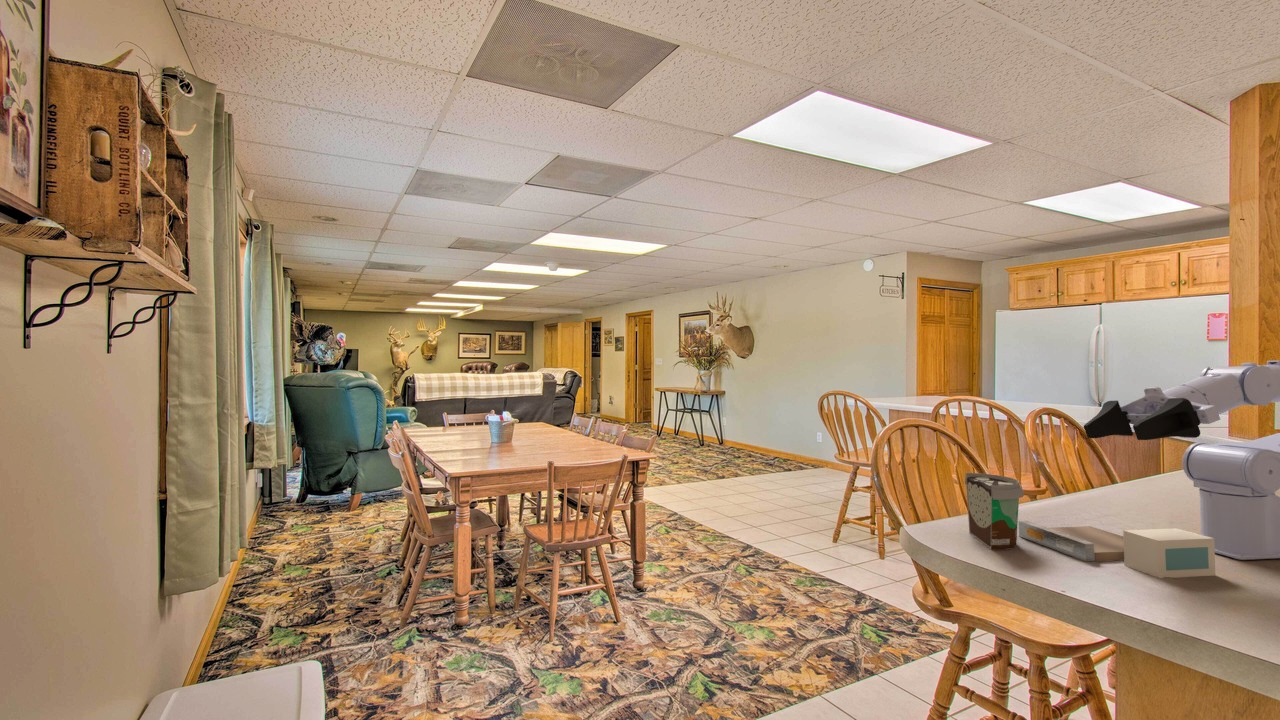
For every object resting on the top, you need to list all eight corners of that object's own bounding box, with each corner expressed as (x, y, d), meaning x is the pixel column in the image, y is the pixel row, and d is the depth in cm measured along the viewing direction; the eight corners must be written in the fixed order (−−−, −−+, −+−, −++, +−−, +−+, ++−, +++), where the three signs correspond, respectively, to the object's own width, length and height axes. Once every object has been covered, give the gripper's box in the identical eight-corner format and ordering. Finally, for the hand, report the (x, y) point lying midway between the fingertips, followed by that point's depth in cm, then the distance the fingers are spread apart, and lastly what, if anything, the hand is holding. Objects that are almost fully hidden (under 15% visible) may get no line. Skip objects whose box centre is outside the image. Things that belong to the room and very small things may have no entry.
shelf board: (1090, 533, 96) (1089, 526, 96) (1166, 558, 83) (1166, 549, 83) (1027, 535, 96) (1027, 528, 96) (1095, 561, 83) (1095, 552, 83)
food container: (1040, 554, 86) (1038, 486, 86) (995, 552, 87) (993, 485, 87) (1005, 532, 98) (1004, 472, 98) (966, 530, 99) (964, 472, 99)
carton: (1177, 564, 81) (1176, 528, 81) (1216, 576, 76) (1214, 538, 76) (1124, 566, 81) (1123, 530, 81) (1159, 579, 76) (1158, 540, 76)
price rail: (1027, 535, 96) (1026, 520, 96) (1094, 561, 83) (1094, 543, 83) (1017, 536, 95) (1017, 521, 95) (1084, 561, 82) (1083, 543, 82)
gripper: (1130, 381, 93) (1059, 406, 91) (1233, 374, 78) (1152, 404, 76) (1145, 423, 92) (1074, 450, 90) (1252, 424, 78) (1171, 456, 76)
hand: (1111, 432), depth 83 cm, fingers open, 7 cm apart
